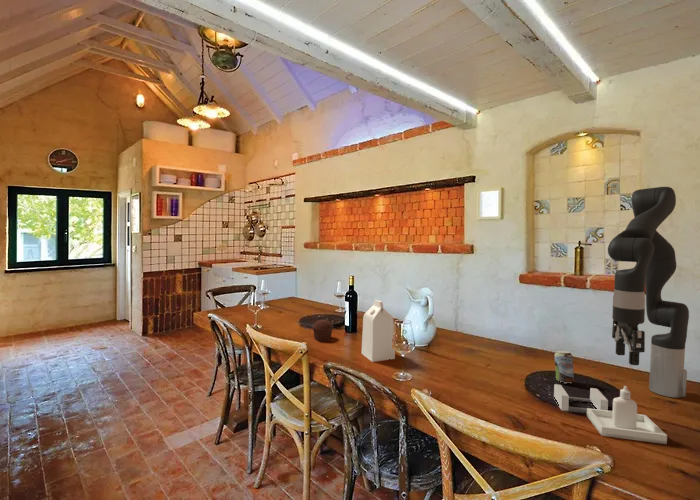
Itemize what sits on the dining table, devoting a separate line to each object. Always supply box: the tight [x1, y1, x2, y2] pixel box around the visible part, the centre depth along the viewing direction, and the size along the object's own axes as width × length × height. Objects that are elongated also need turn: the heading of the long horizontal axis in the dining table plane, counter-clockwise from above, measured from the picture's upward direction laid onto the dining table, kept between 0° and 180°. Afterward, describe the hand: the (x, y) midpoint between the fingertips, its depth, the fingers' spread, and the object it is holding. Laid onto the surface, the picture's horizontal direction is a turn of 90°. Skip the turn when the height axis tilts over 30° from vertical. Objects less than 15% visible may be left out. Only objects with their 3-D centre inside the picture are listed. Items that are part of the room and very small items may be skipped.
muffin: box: [312, 319, 334, 342], centre depth 197 cm, size 12×11×10 cm
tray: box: [586, 407, 668, 445], centre depth 107 cm, size 16×12×2 cm
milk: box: [361, 299, 396, 363], centre depth 169 cm, size 12×12×26 cm
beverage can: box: [554, 350, 575, 384], centre depth 141 cm, size 6×7×12 cm
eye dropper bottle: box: [611, 385, 638, 429], centre depth 107 cm, size 4×6×12 cm
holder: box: [553, 383, 609, 414], centre depth 121 cm, size 13×9×5 cm
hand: (626, 359), depth 108 cm, fingers open, 8 cm apart
